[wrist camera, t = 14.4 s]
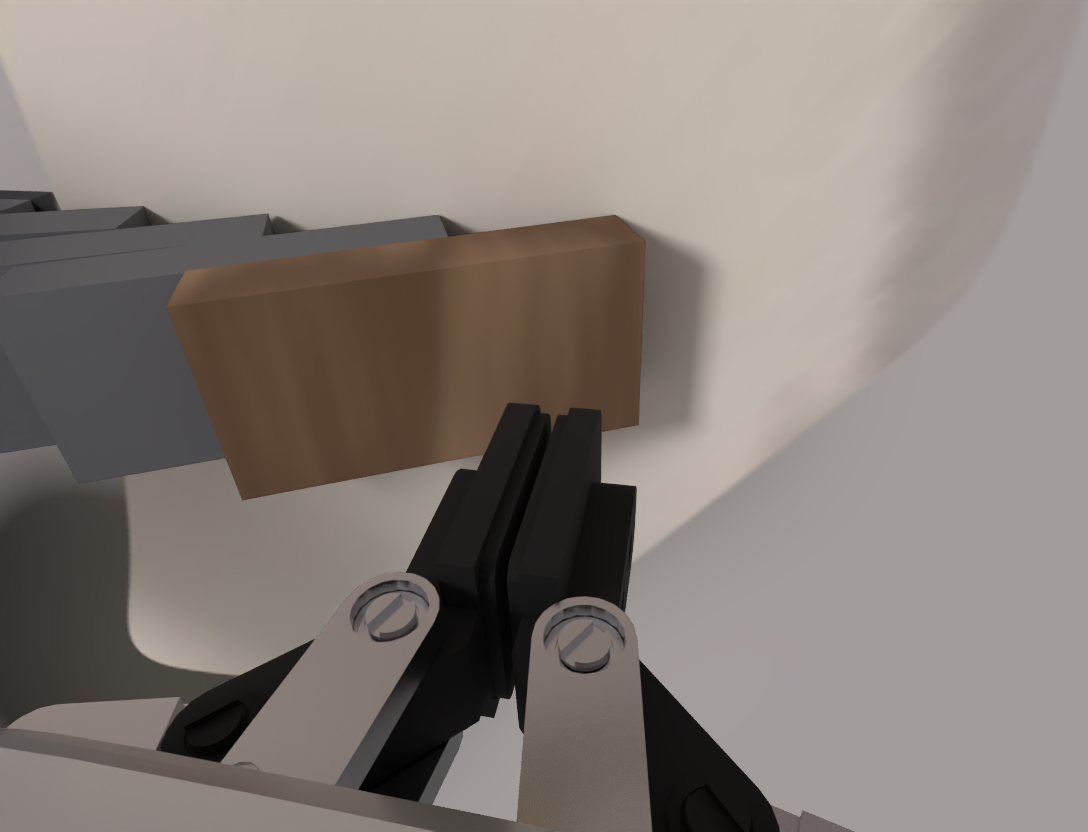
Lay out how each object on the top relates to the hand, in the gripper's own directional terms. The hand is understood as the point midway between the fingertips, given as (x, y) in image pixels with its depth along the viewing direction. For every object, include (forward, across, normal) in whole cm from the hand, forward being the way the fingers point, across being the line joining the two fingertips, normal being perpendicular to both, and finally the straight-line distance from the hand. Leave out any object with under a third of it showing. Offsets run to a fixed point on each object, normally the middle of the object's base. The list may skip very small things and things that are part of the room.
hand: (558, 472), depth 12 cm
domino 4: (+6, +4, 0) cm, 7 cm away
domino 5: (+6, -1, 0) cm, 6 cm away
